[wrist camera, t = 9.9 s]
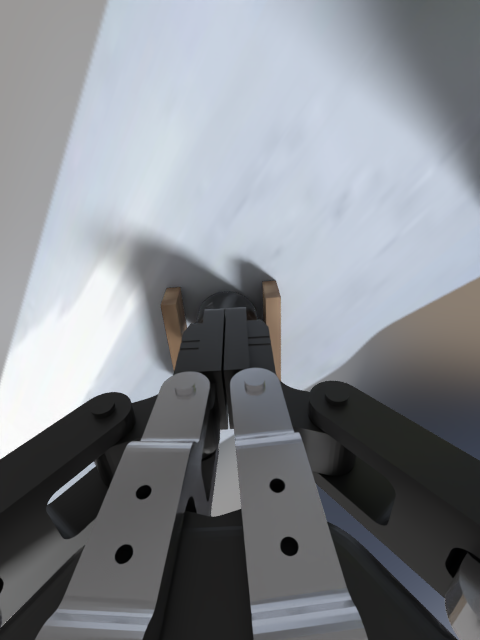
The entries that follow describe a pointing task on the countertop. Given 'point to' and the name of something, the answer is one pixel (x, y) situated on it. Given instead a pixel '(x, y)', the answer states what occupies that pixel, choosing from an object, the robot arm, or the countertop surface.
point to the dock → (177, 324)
